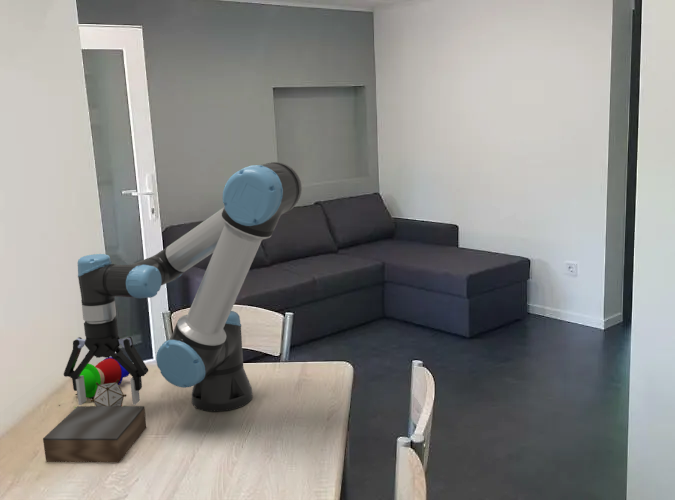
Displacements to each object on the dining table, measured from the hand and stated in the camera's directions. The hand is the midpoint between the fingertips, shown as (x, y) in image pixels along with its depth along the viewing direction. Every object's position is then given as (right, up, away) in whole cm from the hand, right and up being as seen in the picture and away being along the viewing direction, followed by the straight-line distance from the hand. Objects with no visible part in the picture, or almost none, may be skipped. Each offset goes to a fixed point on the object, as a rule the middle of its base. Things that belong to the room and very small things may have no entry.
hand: (109, 402), depth 165 cm
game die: (0, -3, +1) cm, 3 cm away
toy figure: (-7, 0, +14) cm, 16 cm away
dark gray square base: (+3, -6, -15) cm, 17 cm away
